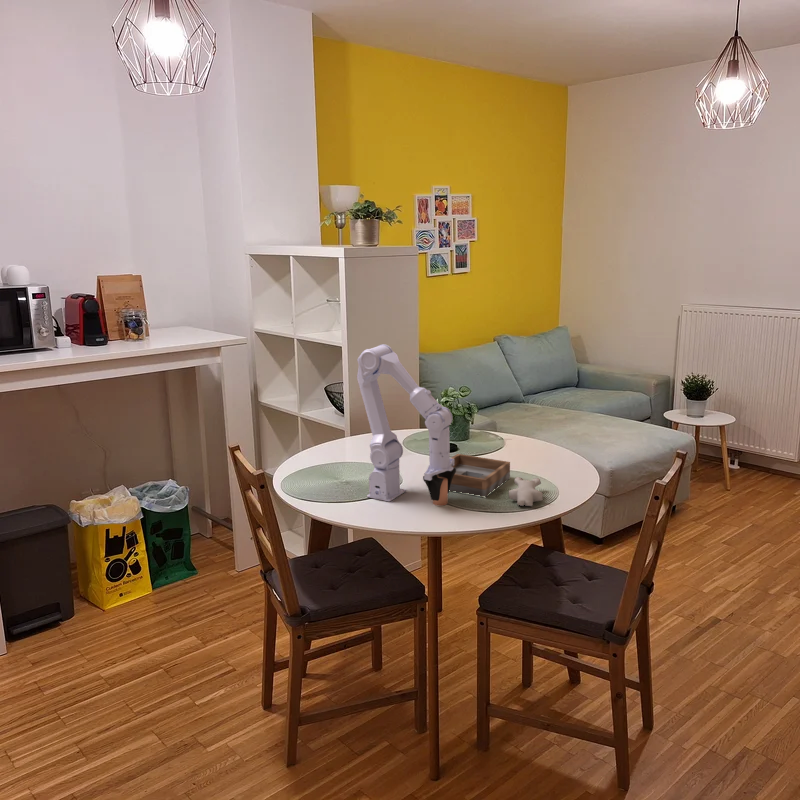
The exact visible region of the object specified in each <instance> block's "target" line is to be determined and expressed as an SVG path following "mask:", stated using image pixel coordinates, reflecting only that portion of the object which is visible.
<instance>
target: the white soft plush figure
mask: <svg viewBox="0 0 800 800" xmlns="http://www.w3.org/2000/svg"><path fill="white" fill-rule="evenodd" d="M513 482H514V484H515V485H517V487H516V488H514V489H510V490H508V499H510V500H514V501H517V503H516V505H517V504H518V505H517V506H519V505H520V506H522V507H533V506H534V502H539V501H543V497H544V496H543V495H544V494H543V492H542V491H540V490H537V489H536V487H538V486H539V485H541V484H542V481H541V478H538V477H536V478H533V479H531V480H527V479H523V478H522V477H520V476H516V477H515V478H514V480H513ZM524 505H525V506H524ZM532 505H533V506H532Z"/></svg>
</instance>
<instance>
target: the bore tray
mask: <svg viewBox="0 0 800 800" xmlns="http://www.w3.org/2000/svg"><path fill="white" fill-rule="evenodd" d="M450 458H451V459H454V466H452V467H453V468H455V469H456V472H455V474H454V476H453V479H452V481H451V485H450V491H456V492H462V493H469V494H474V495H480V496H485V497H486V496H487V495H488V494H489V493H490V492H492V491H493V490H494V489H496V488H497V487H498V486H500V485H501V484H502V483H504V482H505V481H506V480H508V479H509V478H510V479H511V461H508V460H507V461H506V460H501V459H493V458H487V457H480V456H475V455H469V454H463V453H457V454H455V455H453V456H451V457H450ZM437 477H439V476H438V474H437ZM510 479H509V480H510ZM509 480H508V481H509ZM505 483H506V482H505ZM505 483H504V484H505ZM501 486H502V485H501ZM501 486H500V487H501ZM496 490H497V489H496ZM450 491H449V492H450ZM487 497H488V496H487ZM487 497H486V498H487Z"/></svg>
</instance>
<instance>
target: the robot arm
mask: <svg viewBox="0 0 800 800" xmlns="http://www.w3.org/2000/svg"><path fill="white" fill-rule="evenodd" d="M356 361H357V364H358V369H357V376H356V378H357V379H356V380H357V382H358V387H359V391H360V395H361V397H362V402H363V404H364V405H363V406H364V408H365V412H366V416H367V421H368V423H369V427H370V431H371V435H372V437H371V439H370V440H371V441H370V443H369V448H370V453H369V455H370V456H369V459H370V462H371V464H372V465H373V466H374V469H373V470H372V472H370V474H369V477H368V484H369V485H368V486H369V491H368V492H369V493H368V494H367V496H366V497H367V498H371V499H375V500H380V501H385V502H391V501H393V500H394V499H396V498H398V497H399V496H401V495H402V494H404V493H405V492H407V490H406V489H405V488H401V477H400V471H401V470H400V459H401V457H403V453H404V447H403V445H402V443H400V441H399V439H398V436H397V434H395V433H394V432H393V431H392V430H391V428H390V427H391V426H390V423H389V419H388V415H387V412H386V408H385V405H384V401H383V398H382V394H381V393H382V392H381V390H380V386H379V381H378V379H379V377H380V376H381V374H383V375H388V376H391V378H393V379H394V380H395V381H396V382H397V383H398V384H399V385H400V387H401V388H402V389H404V390H405V392H407V393H408V395H409V403H410V404H411V405H412V406H413V407H414V408H415V409H416V411H417V412H418V413H419V415H421V416H422V418H423V419H425V421H424V425H425V427H426V429H427V431H428V447H429V449H428V450H429V451H428V452H429V454H428V455H429V465H428V466H427V468H426V471H424V473H423V476H422V480H423V482H424V483H425V485H426V487H427V488H428V493H429V496H430V500H436V501H438V500H439V497H440V488H441V484H442V481H443V478H438V477H437V474H438V476H439V477H445V478H447V479H448V494H449V493H450V491H449V490H450V485H451V481H452V479H453V476H454V474H455V472H456V469H455V468H453V467H452V466H454V459H451V458H452V457H450V455H451V454H450V450H451V449H450V447H451V446H450V425H451V424H452V423H453V414H452V412H451V411H450V408H448V407H446V406H443V405H442V404H441V403H439V402H438V401H437V400H436V399H435V397H434V396H433V395H432V391H431V390H430V389H427V388H426V387H421V386H419V385H418V384H417V382H416V381H415V379H414V378H413V376H411V374H410V373H409V372H408V370H407V369H406V368H405V366H404V365H403V364H402V362H401V361H400V359H399V355H398V354H397V353H396V352H395V351H394V350H393V348H392V347H391V346H390V345H388V344H385V343H384V344H383V343H382V344H379V345H377V346H374V347H372V348H366V349H365V350H363V351H362V352H361V354H359V356H358V358H357V360H356Z"/></svg>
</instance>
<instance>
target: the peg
mask: <svg viewBox="0 0 800 800" xmlns="http://www.w3.org/2000/svg"><path fill="white" fill-rule="evenodd" d="M438 478H443V481H442V484H441V488H440V497H439V500H438V501H436V500H432V504H433V505H434V506H439V507H440V506H441V507H442V506H445V505H447V504H448V503H449V493H448V479H447V478H445V477H438Z"/></svg>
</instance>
